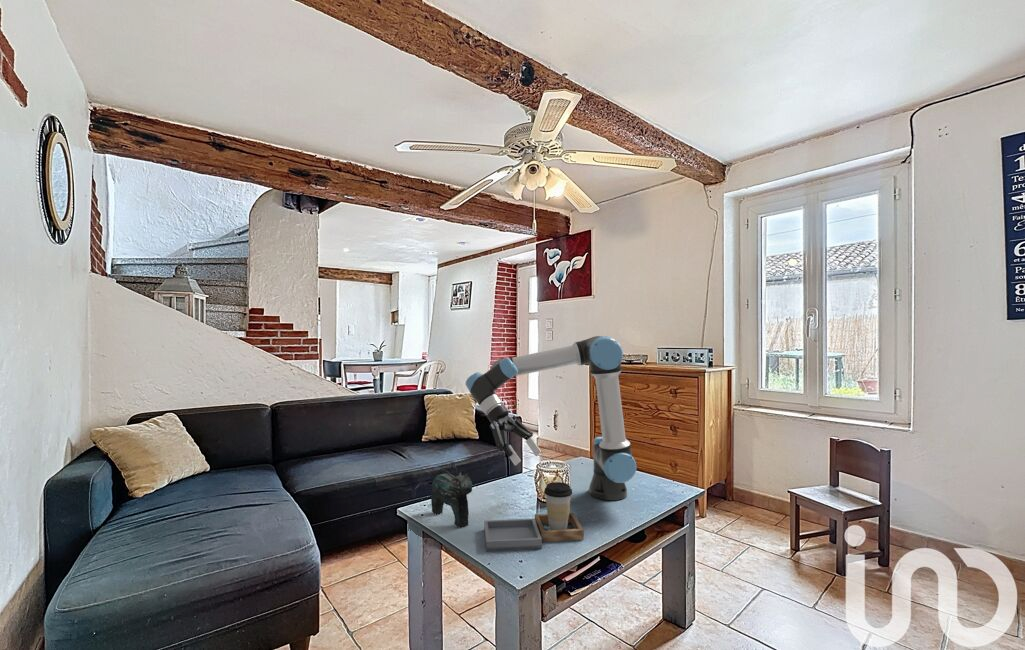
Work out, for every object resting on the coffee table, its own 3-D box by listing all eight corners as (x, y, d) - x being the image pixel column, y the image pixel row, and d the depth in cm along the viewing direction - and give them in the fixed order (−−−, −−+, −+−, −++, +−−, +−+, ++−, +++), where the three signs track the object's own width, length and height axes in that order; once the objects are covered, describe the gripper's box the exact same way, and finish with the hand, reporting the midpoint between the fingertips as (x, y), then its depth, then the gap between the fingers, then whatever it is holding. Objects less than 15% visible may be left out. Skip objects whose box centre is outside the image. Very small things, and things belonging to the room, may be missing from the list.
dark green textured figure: (473, 526, 157) (474, 467, 157) (458, 532, 153) (458, 472, 153) (440, 508, 172) (441, 455, 171) (426, 513, 167) (426, 458, 167)
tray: (534, 527, 156) (534, 518, 156) (541, 548, 141) (541, 539, 141) (484, 529, 154) (484, 520, 154) (486, 551, 140) (486, 541, 140)
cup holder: (573, 521, 161) (573, 512, 161) (583, 539, 147) (583, 530, 147) (534, 522, 160) (534, 514, 160) (541, 541, 146) (541, 532, 146)
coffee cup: (549, 539, 148) (550, 492, 148) (540, 526, 157) (540, 482, 157) (577, 535, 150) (577, 489, 150) (565, 523, 159) (565, 480, 159)
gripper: (508, 411, 180) (540, 456, 171) (467, 421, 159) (501, 473, 151) (519, 399, 177) (553, 444, 168) (479, 408, 156) (515, 460, 148)
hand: (528, 458), depth 159 cm, fingers open, 13 cm apart
